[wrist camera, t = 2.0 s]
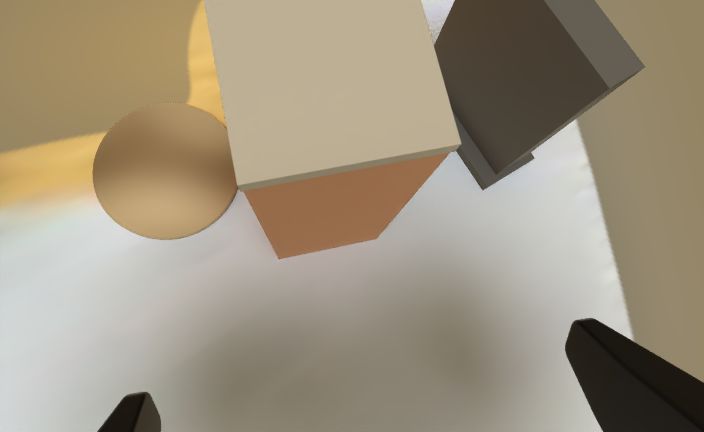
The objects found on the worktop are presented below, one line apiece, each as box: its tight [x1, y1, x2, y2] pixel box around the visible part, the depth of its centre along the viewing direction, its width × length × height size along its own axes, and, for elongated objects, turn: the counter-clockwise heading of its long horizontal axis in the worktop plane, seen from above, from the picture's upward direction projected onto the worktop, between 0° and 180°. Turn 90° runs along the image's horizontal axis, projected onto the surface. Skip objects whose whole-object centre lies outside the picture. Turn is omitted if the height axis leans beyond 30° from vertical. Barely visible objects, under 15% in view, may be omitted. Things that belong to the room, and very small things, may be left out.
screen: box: [434, 0, 645, 190], centre depth 21 cm, size 8×3×10 cm, turn 32°
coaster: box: [93, 103, 238, 240], centre depth 23 cm, size 7×7×1 cm
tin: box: [204, 0, 461, 259], centre depth 17 cm, size 5×5×13 cm
